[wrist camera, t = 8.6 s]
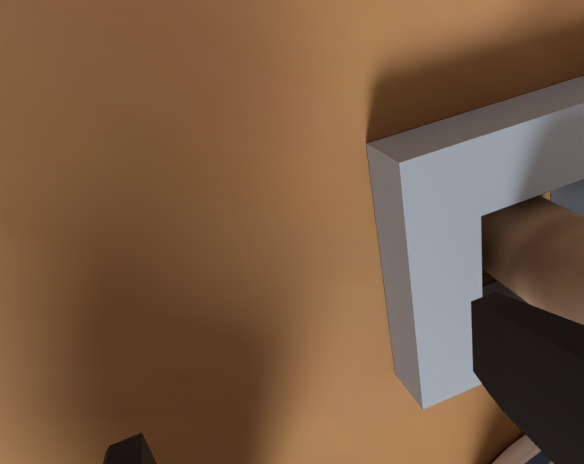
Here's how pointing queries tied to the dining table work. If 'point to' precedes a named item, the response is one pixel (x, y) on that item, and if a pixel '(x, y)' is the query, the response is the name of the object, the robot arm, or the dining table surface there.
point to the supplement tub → (523, 454)
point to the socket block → (463, 219)
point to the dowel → (537, 254)
